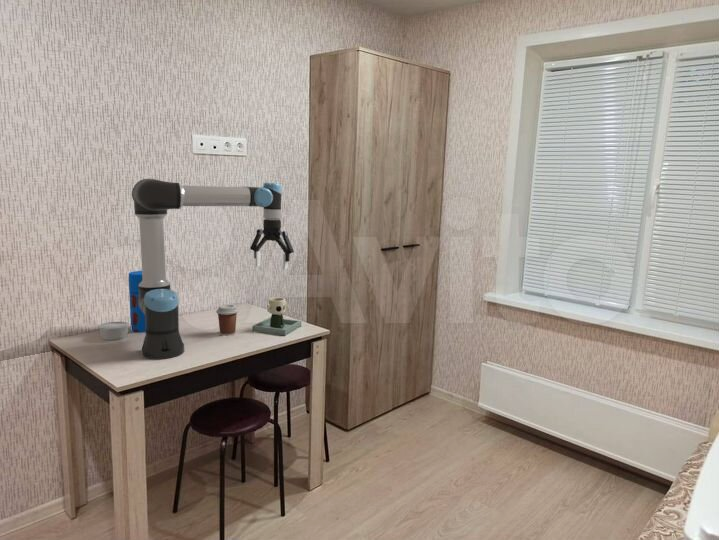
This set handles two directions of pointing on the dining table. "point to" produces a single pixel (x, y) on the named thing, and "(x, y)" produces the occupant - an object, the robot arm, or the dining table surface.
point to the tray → (266, 328)
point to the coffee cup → (227, 319)
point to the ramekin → (114, 330)
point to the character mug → (277, 311)
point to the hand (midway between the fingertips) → (271, 267)
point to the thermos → (136, 303)
